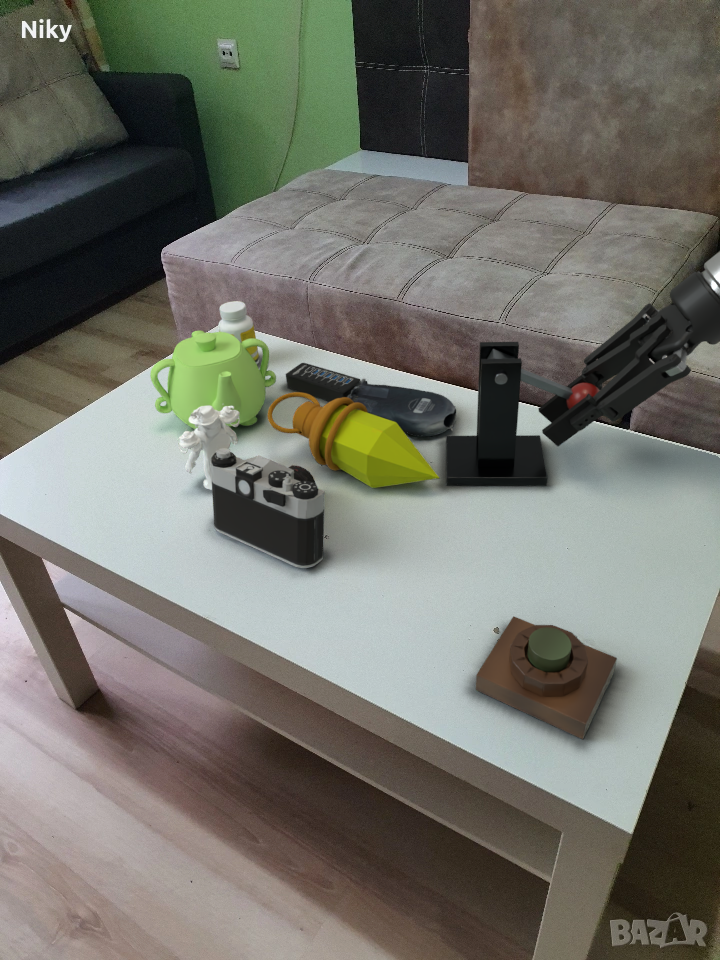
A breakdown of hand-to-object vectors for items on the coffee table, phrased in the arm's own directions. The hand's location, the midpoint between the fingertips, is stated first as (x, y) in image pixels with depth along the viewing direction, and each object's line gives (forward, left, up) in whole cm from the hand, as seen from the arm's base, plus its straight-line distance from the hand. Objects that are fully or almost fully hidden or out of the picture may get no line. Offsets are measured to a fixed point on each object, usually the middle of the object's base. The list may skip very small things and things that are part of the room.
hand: (548, 427), depth 91 cm
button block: (-21, +26, -6) cm, 34 cm away
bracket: (+4, +4, -6) cm, 8 cm away
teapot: (+38, +23, -6) cm, 45 cm away
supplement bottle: (+50, +12, -6) cm, 52 cm away
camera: (+13, +30, -6) cm, 34 cm away
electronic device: (+20, +5, -6) cm, 22 cm away
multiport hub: (+34, +8, -6) cm, 36 cm away
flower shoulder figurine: (+26, +31, -6) cm, 41 cm away
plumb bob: (+16, +17, -6) cm, 25 cm away
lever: (+1, +1, +4) cm, 5 cm away
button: (-21, +26, -2) cm, 33 cm away
